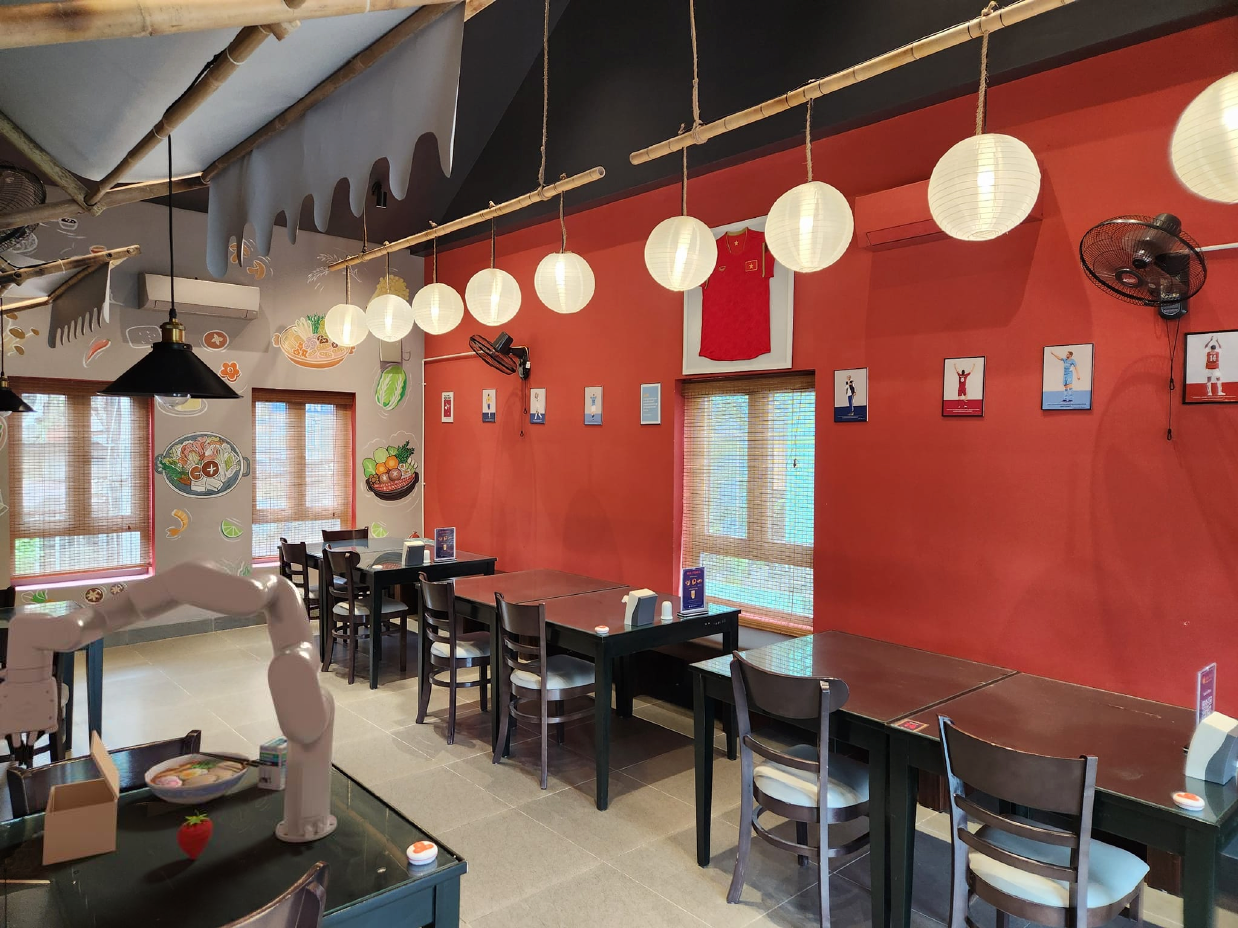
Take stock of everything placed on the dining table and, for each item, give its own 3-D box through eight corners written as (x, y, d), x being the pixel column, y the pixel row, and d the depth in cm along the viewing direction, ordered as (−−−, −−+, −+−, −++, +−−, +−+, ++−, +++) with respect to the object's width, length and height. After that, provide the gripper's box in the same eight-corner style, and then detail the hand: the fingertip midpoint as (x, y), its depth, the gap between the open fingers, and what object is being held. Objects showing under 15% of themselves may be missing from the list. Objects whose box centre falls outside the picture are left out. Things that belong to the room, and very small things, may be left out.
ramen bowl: (116, 807, 176) (117, 772, 176) (203, 773, 197) (204, 741, 197) (192, 828, 166) (193, 791, 166) (274, 790, 187) (276, 757, 188)
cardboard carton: (115, 850, 156) (117, 801, 156) (42, 865, 149) (44, 814, 149) (116, 820, 169) (117, 775, 169) (49, 832, 162) (51, 786, 163)
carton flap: (116, 799, 156) (118, 797, 156) (89, 753, 154) (92, 751, 154) (116, 773, 169) (119, 772, 169) (92, 730, 167) (95, 729, 167)
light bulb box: (280, 791, 187) (282, 747, 187) (256, 788, 188) (258, 745, 188) (306, 774, 197) (308, 733, 198) (283, 772, 199) (285, 731, 199)
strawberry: (167, 867, 150) (169, 816, 150) (192, 848, 157) (194, 800, 157) (195, 869, 149) (197, 818, 149) (219, 850, 157) (221, 802, 157)
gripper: (-21, 682, 147) (-27, 776, 147) (72, 674, 155) (67, 763, 155) (-15, 673, 153) (-21, 763, 153) (74, 666, 162) (69, 751, 161)
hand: (23, 763), depth 154 cm, fingers closed
